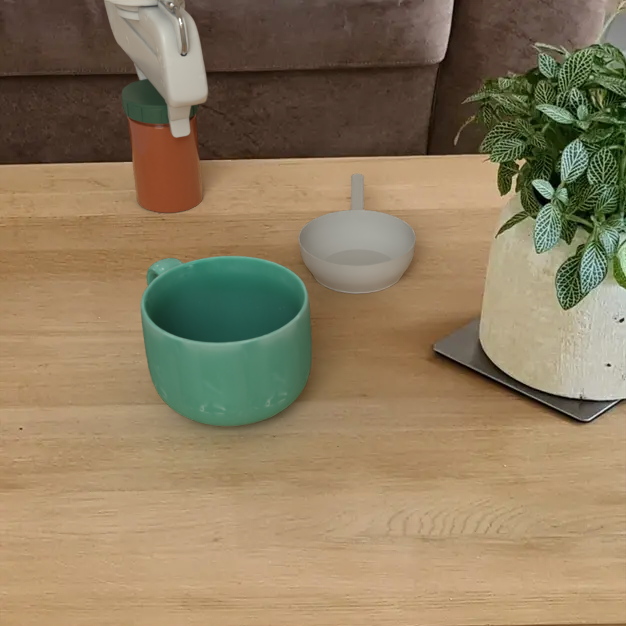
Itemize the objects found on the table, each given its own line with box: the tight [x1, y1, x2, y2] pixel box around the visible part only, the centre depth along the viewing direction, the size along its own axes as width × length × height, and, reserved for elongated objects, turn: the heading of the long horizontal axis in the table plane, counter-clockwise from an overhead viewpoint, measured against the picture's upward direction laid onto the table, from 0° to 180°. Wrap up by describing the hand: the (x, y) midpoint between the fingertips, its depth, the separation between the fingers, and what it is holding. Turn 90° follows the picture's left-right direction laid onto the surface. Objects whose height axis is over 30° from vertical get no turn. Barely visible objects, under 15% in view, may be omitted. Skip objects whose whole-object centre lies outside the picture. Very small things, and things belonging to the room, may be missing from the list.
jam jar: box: [126, 113, 204, 214], centre depth 116 cm, size 7×7×11 cm
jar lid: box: [120, 79, 200, 124], centre depth 113 cm, size 7×7×2 cm
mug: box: [140, 255, 313, 427], centre depth 91 cm, size 17×13×10 cm
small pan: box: [297, 173, 417, 295], centre depth 111 cm, size 11×18×4 cm, turn 3°
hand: (167, 118), depth 114 cm, fingers closed on jar lid, 7 cm apart
